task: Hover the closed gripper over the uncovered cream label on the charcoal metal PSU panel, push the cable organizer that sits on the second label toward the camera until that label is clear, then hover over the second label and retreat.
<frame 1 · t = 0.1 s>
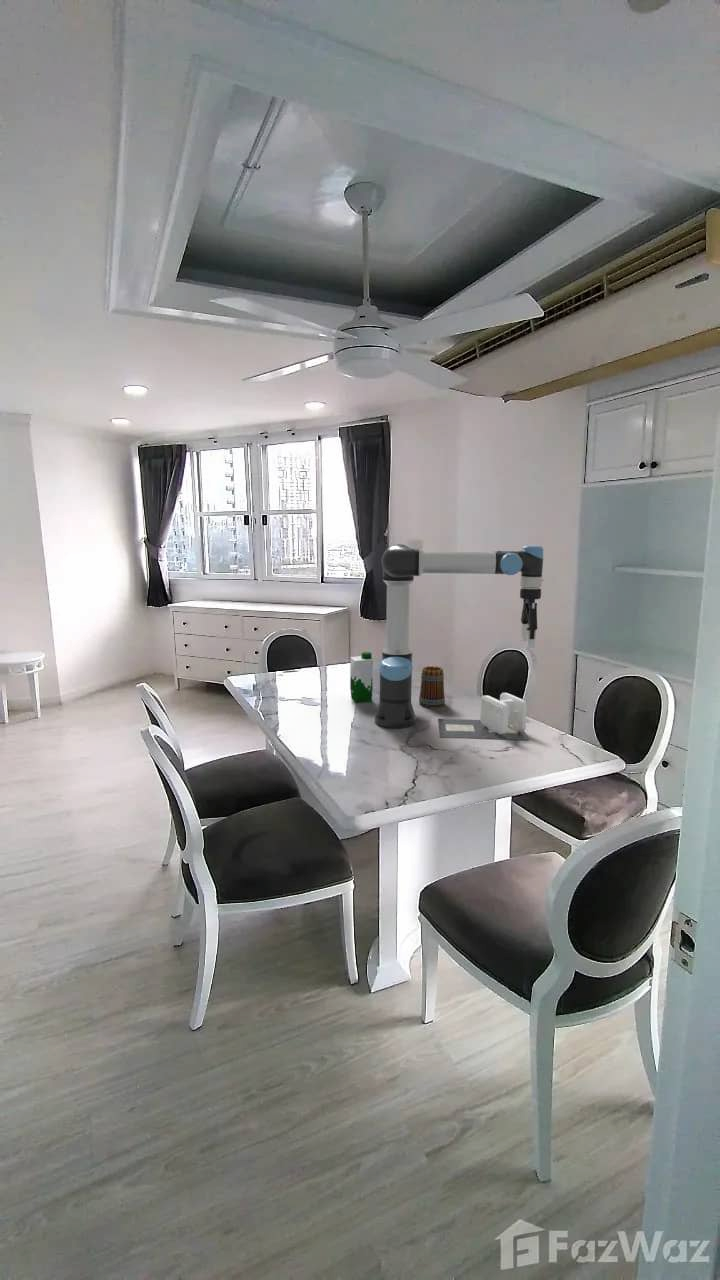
hand: (527, 644, 228), 28 cm above the table, fingers open, 13 cm apart
psu panel: (480, 729, 217), on the table
cable organizer: (502, 729, 217), resting on psu panel
milk carton: (361, 700, 253), on the table
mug: (431, 702, 250), on the table
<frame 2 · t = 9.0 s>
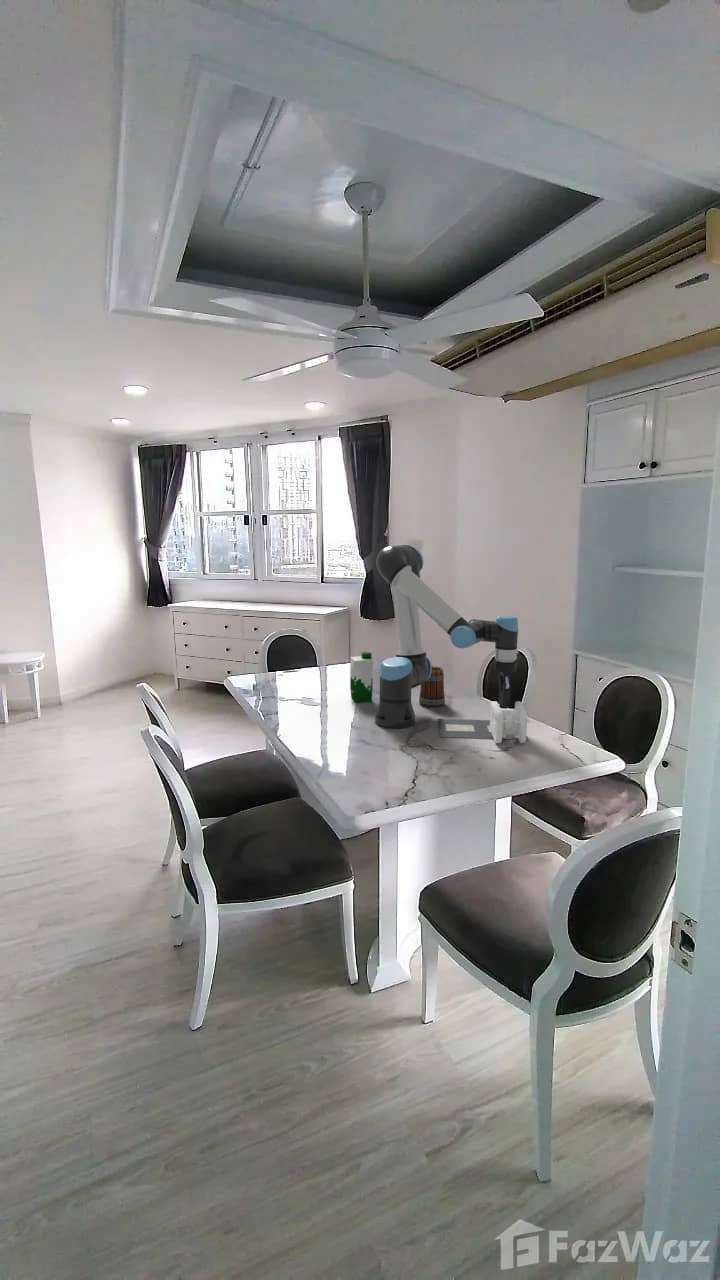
hand: (502, 724, 217), 2 cm above the table, fingers closed
cable organizer: (506, 739, 207), on the table, touching hand
everything else where it was.
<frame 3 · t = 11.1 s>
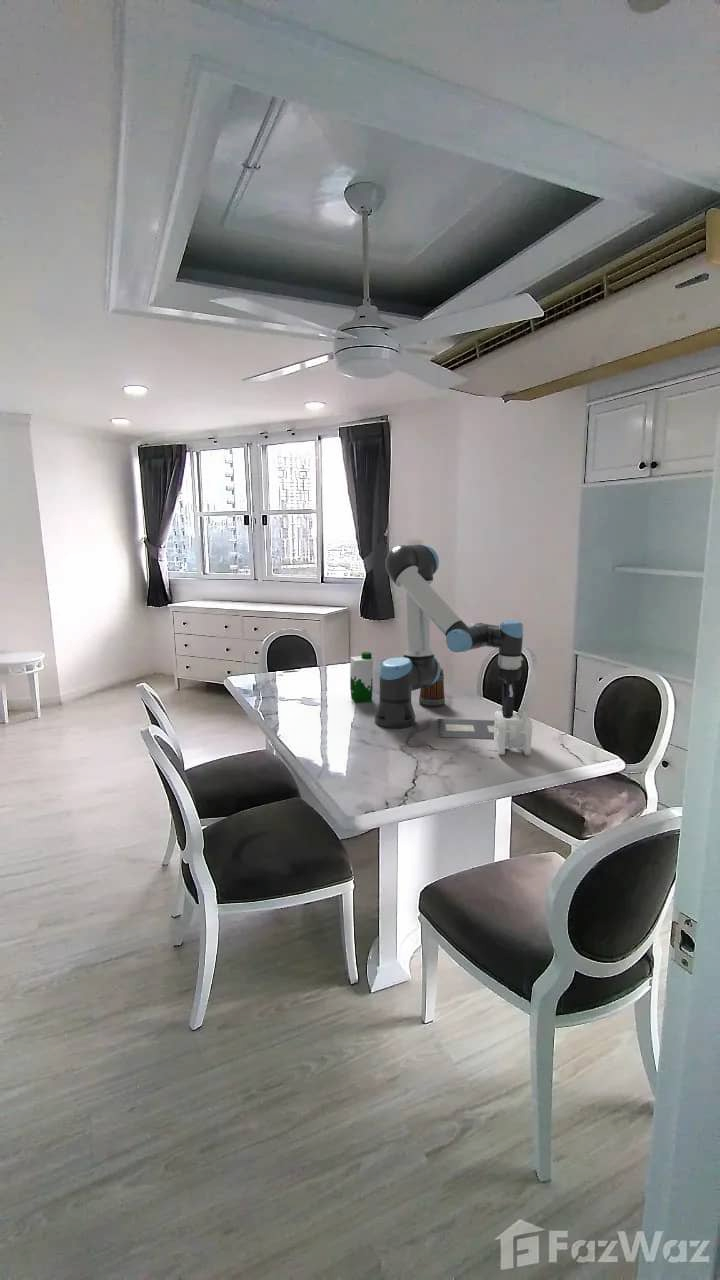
hand: (506, 733, 208), 2 cm above the table, fingers closed
cable organizer: (510, 750, 197), on the table, touching hand
everything else where it was.
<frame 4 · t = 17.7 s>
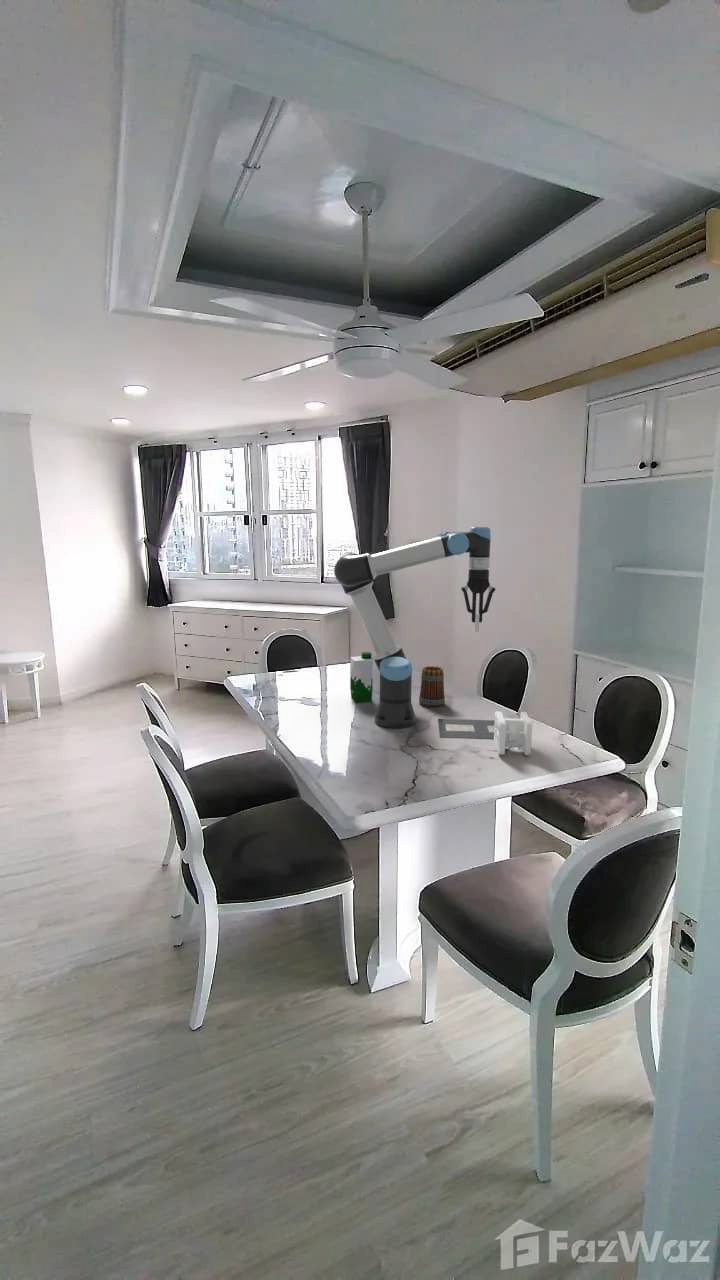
hand: (476, 630, 231), 32 cm above the table, fingers closed
cable organizer: (510, 751, 197), on the table
everything else where it was.
at the end: cable organizer inside the target area (0.4 cm from its centre), on the table; cable organizer tilted 0°; cable organizer moved 20.1 cm from its start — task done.
